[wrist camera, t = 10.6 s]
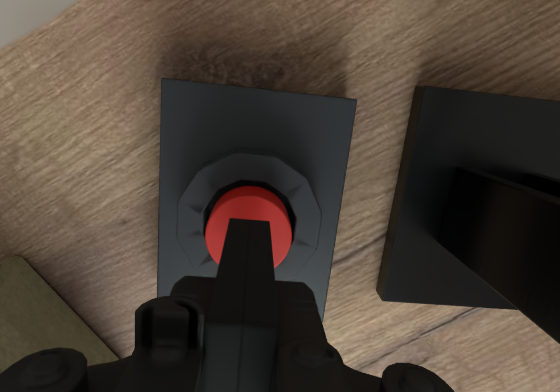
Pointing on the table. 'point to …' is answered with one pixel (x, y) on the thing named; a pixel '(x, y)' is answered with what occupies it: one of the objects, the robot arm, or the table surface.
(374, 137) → the table surface
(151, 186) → the table surface
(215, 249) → the button
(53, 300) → the tissue box
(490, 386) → the table surface
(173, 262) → the button block
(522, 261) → the bracket
